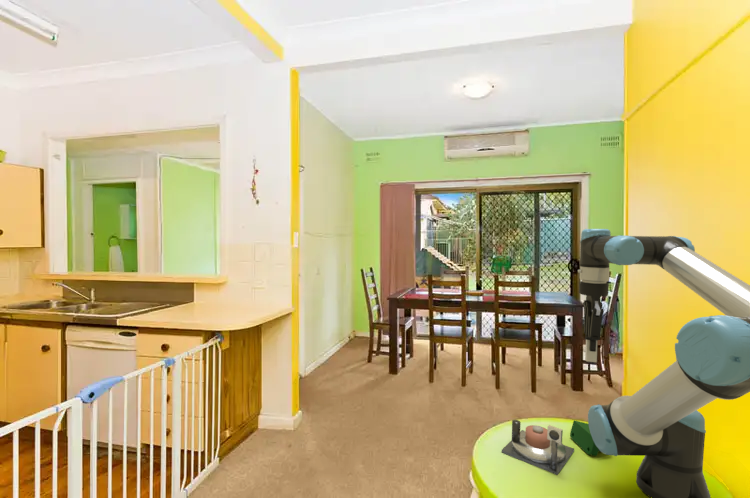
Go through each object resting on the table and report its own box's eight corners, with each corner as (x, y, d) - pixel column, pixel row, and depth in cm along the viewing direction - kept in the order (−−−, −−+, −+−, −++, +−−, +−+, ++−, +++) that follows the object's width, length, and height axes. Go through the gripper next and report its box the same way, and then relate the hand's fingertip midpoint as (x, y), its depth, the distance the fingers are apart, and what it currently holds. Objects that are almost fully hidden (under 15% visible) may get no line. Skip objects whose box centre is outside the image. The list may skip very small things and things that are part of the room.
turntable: (559, 439, 124) (560, 416, 123) (571, 467, 109) (572, 440, 109) (508, 433, 127) (509, 410, 127) (514, 459, 112) (515, 433, 112)
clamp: (601, 467, 118) (616, 448, 114) (582, 463, 117) (597, 443, 114) (583, 433, 129) (597, 415, 125) (567, 429, 128) (580, 410, 124)
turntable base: (575, 451, 118) (576, 412, 118) (558, 475, 107) (560, 432, 106) (521, 432, 129) (523, 396, 129) (501, 452, 117) (502, 413, 117)
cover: (547, 437, 121) (548, 423, 121) (552, 450, 115) (552, 435, 114) (523, 434, 123) (524, 421, 123) (527, 446, 116) (527, 432, 116)
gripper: (575, 278, 121) (572, 353, 122) (584, 283, 108) (581, 366, 109) (602, 279, 119) (599, 355, 120) (615, 284, 106) (611, 369, 107)
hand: (590, 361), depth 114 cm, fingers closed
